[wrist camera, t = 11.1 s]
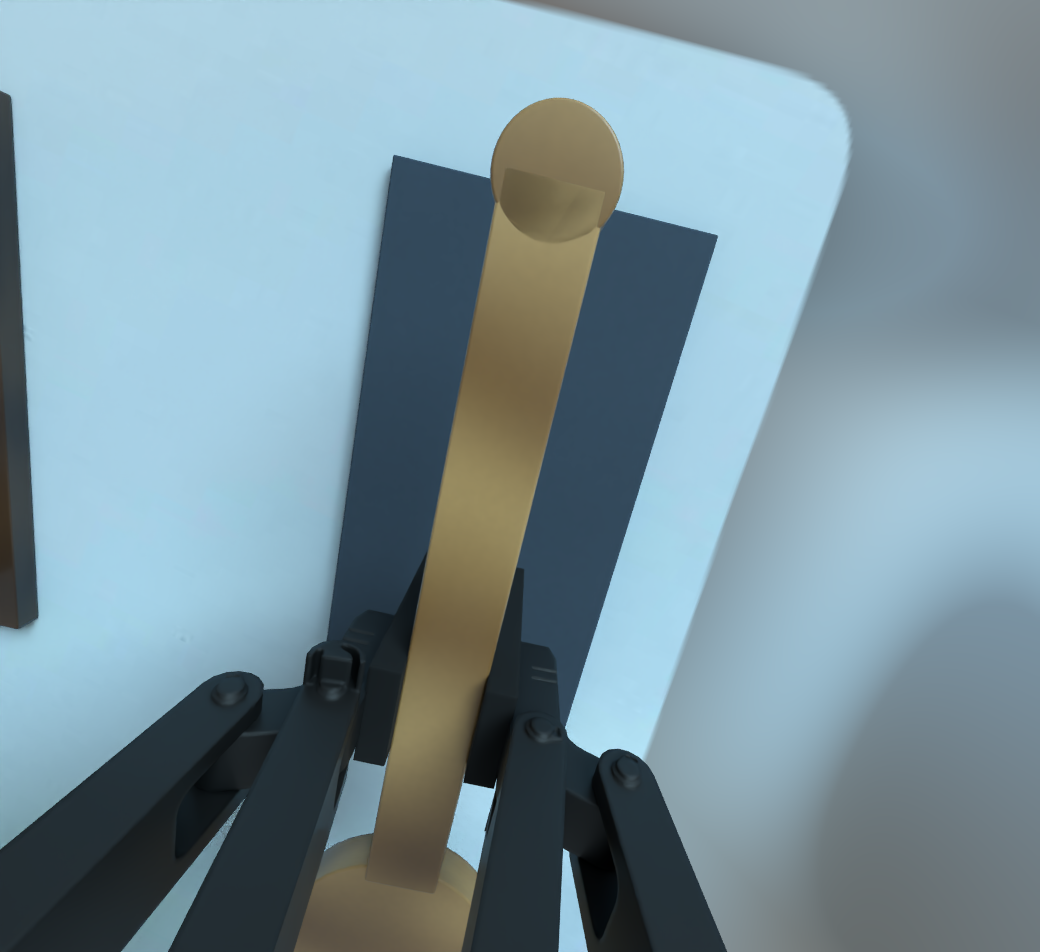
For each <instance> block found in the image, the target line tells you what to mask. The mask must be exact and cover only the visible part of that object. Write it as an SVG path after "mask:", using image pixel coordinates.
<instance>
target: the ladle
mask: <svg viewBox="0 0 1040 952" xmlns="http://www.w3.org/2000/svg"><path fill="white" fill-rule="evenodd" d="M623 178H624V162H623V156H622V151H621V148H620V144H619V142H618V139H617V137H616V135H615V133H614V131H613V129H612V128H611V126H610V125H609V123H608V122H607V121H606V120H605V118H604V117H603V116H601V115H600V114H599V113H598V112H597V111H596V110H594V109H593V108H592V107H590V106H588V105H586V104H584V103H582V102H580V101H577V100H574V99H568V98H550V99H545V100H541V101H538V102H536V103H533V104H531V105H529V106H528V107H526V108H524V109H523V110H521V111H520V112H519V113H518V114H517V115H515V116H514V117H513V118H512V120H511V121H510V122H509V123H508V124H507V126H506V127H505V128H504V130H503V131H502V133H501V135H500V137H499V139H498V141H497V143H496V146H495V149H494V152H493V156H492V161H491V169H490V181H491V189H492V194H493V198H494V202H495V205H494V210H493V215H492V220H491V225H490V231H489V236H488V241H487V246H486V251H485V257H484V262H483V267H482V272H481V277H480V283H479V288H478V293H477V298H476V303H475V309H474V314H473V319H472V324H471V329H470V335H469V340H468V345H467V350H466V355H465V360H464V366H463V371H462V376H461V381H460V386H459V392H458V397H457V402H456V407H455V412H454V418H453V423H452V428H451V433H450V438H449V444H448V449H447V454H446V459H445V464H444V470H443V475H442V480H441V485H440V490H439V495H438V501H437V506H436V511H435V516H434V521H433V527H432V532H431V537H430V542H429V547H428V553H427V558H426V563H425V568H424V573H423V579H422V584H421V589H420V594H419V599H418V605H417V610H416V615H415V620H414V625H413V630H412V636H411V641H410V646H409V651H408V656H407V657H408V660H407V665H406V670H405V675H404V680H403V686H402V691H401V696H400V701H399V706H398V711H397V717H396V722H395V727H394V732H393V737H392V743H391V748H390V751H389V755H388V760H387V765H386V771H385V776H384V781H383V786H382V791H381V797H380V802H379V807H378V812H377V817H376V823H375V828H374V833H372V834H365V835H360V836H356V837H353V838H349V839H347V840H344V841H342V842H339V843H337V844H336V845H334V846H332V847H330V848H329V849H327V850H326V851H325V852H324V853H323V856H322V860H321V863H320V866H319V870H318V873H317V876H316V879H315V883H314V886H313V889H312V893H311V896H310V899H309V902H308V906H307V909H306V912H305V916H304V919H303V922H302V926H301V929H300V932H299V935H298V939H297V942H296V945H295V949H294V952H461V950H462V946H463V941H464V936H465V931H466V926H467V921H468V916H469V912H470V907H471V902H472V897H473V892H474V887H475V882H476V878H477V872H476V870H475V869H474V868H473V867H472V866H471V865H470V864H469V863H468V862H467V861H466V860H464V859H463V858H462V857H461V856H459V855H458V854H457V853H455V852H453V851H452V850H450V849H449V848H447V843H448V839H449V835H450V831H451V827H452V823H453V819H454V815H455V811H456V807H457V803H458V799H459V795H460V791H461V787H462V783H463V779H464V775H465V770H466V764H467V760H468V756H469V752H470V748H471V744H472V740H473V736H474V732H475V728H476V724H477V720H478V716H479V712H480V708H481V704H482V699H483V695H484V691H485V687H486V683H487V679H488V675H489V674H490V670H491V666H492V662H493V658H494V654H495V650H496V646H497V642H498V638H499V634H500V630H501V626H502V622H503V618H504V614H505V610H506V606H507V602H508V598H509V594H510V590H511V586H512V582H513V578H514V574H515V570H516V566H517V562H518V558H519V554H520V550H521V546H522V542H523V538H524V534H525V530H526V526H527V522H528V518H529V514H530V510H531V506H532V502H533V498H534V494H535V490H536V486H537V482H538V478H539V474H540V470H541V466H542V462H543V458H544V454H545V450H546V446H547V442H548V438H549V434H550V430H551V426H552V422H553V418H554V414H555V410H556V406H557V402H558V398H559V394H560V390H561V386H562V382H563V378H564V374H565V370H566V366H567V362H568V358H569V354H570V350H571V346H572V342H573V338H574V334H575V330H576V326H577V322H578V318H579V314H580V310H581V306H582V302H583V298H584V294H585V290H586V285H587V281H588V277H589V273H590V269H591V265H592V261H593V257H594V253H595V249H596V245H597V241H598V237H599V233H600V232H601V231H602V229H603V227H604V226H605V224H606V223H607V221H608V220H609V218H610V216H611V215H612V213H613V211H614V210H615V207H616V205H617V203H618V201H619V198H620V194H621V191H622V186H623Z"/></svg>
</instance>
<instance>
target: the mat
mask: <svg viewBox="0 0 1040 952" xmlns="http://www.w3.org/2000/svg"><path fill="white" fill-rule="evenodd" d="M494 205H495V202H494V198H493V194H492V189H491V181H490V179H489V178H485V177H481V176H477V175H473V174H469V173H465V172H461V171H457V170H453V169H449V168H445V167H441V166H437V165H433V164H429V163H425V162H421V161H417V160H413V159H409V158H405V157H401V156H397V155H394V156H393V162H392V169H391V177H390V184H389V191H388V199H387V206H386V213H385V220H384V228H383V235H382V242H381V250H380V257H379V264H378V271H377V279H376V286H375V293H374V301H373V308H372V315H371V323H370V330H369V337H368V344H367V352H366V359H365V366H364V374H363V381H362V388H361V395H360V403H359V410H358V417H357V425H356V432H355V439H354V447H353V454H352V461H351V468H350V476H349V483H348V490H347V498H346V505H345V512H344V519H343V527H342V534H341V541H340V549H339V556H338V563H337V571H336V578H335V585H334V592H333V600H332V607H331V614H330V622H329V629H328V636H327V641H331V640H341V639H342V638H343V636H344V634H345V633H346V631H347V630H348V628H349V626H350V625H351V623H352V622H353V620H354V619H355V617H357V616H358V615H360V614H362V613H363V612H365V611H366V610H368V609H369V610H373V611H378V612H382V613H387V614H392V615H395V614H396V612H397V610H398V608H399V606H400V604H401V602H402V600H403V598H404V596H405V594H406V592H407V590H408V588H409V586H410V584H411V582H412V580H413V578H414V576H415V574H416V572H417V570H418V568H419V566H420V564H421V562H422V560H423V558H424V556H425V554H426V552H427V550H428V547H429V542H430V537H431V532H432V527H433V521H434V516H435V511H436V506H437V501H438V495H439V490H440V485H441V480H442V475H443V470H444V464H445V459H446V454H447V449H448V444H449V438H450V433H451V428H452V423H453V418H454V412H455V407H456V402H457V397H458V392H459V386H460V381H461V376H462V371H463V366H464V360H465V355H466V350H467V345H468V340H469V335H470V329H471V324H472V319H473V314H474V309H475V303H476V298H477V293H478V288H479V283H480V277H481V272H482V267H483V262H484V257H485V251H486V246H487V241H488V236H489V231H490V225H491V220H492V215H493V210H494ZM717 238H718V236H717V235H714V234H710V233H706V232H702V231H698V230H694V229H690V228H686V227H682V226H678V225H674V224H670V223H666V222H662V221H658V220H654V219H650V218H646V217H642V216H638V215H634V214H630V213H626V212H622V211H618V210H614V211H613V213H612V215H611V216H610V218H609V220H608V221H607V223H606V224H605V226H604V227H603V229H602V231H601V232H600V233H599V237H598V241H597V245H596V249H595V253H594V257H593V261H592V265H591V269H590V273H589V277H588V281H587V285H586V290H585V294H584V298H583V302H582V306H581V310H580V314H579V318H578V322H577V326H576V330H575V334H574V338H573V342H572V346H571V350H570V354H569V358H568V362H567V366H566V370H565V374H564V378H563V382H562V386H561V390H560V394H559V398H558V402H557V406H556V410H555V414H554V418H553V422H552V426H551V430H550V434H549V438H548V442H547V446H546V450H545V454H544V458H543V462H542V466H541V470H540V474H539V478H538V482H537V486H536V490H535V494H534V498H533V502H532V506H531V510H530V514H529V518H528V522H527V526H526V530H525V534H524V538H523V542H522V546H521V550H520V554H519V558H518V562H517V566H516V567H517V568H522V569H524V588H523V610H522V631H521V641H522V642H527V643H531V644H536V645H540V646H545V647H549V648H550V650H551V652H552V653H553V655H554V657H555V658H556V663H557V678H558V683H557V684H558V693H559V709H560V722H561V723H562V725H563V726H564V728H565V726H566V723H567V719H568V716H569V713H570V710H571V707H572V703H573V700H574V697H575V694H576V690H577V687H578V684H579V681H580V678H581V674H582V671H583V668H584V665H585V662H586V658H587V655H588V652H589V649H590V646H591V642H592V639H593V636H594V633H595V629H596V626H597V623H598V620H599V617H600V613H601V610H602V607H603V604H604V601H605V597H606V594H607V591H608V588H609V585H610V581H611V578H612V575H613V572H614V569H615V565H616V562H617V559H618V556H619V552H620V549H621V546H622V543H623V540H624V536H625V533H626V530H627V527H628V524H629V520H630V517H631V514H632V511H633V508H634V504H635V501H636V498H637V495H638V491H639V488H640V485H641V482H642V479H643V475H644V472H645V469H646V466H647V463H648V459H649V456H650V453H651V450H652V447H653V443H654V440H655V437H656V434H657V430H658V427H659V424H660V421H661V418H662V414H663V411H664V408H665V405H666V402H667V398H668V395H669V392H670V389H671V386H672V382H673V379H674V376H675V373H676V370H677V366H678V363H679V360H680V357H681V353H682V350H683V347H684V344H685V341H686V337H687V334H688V331H689V328H690V325H691V321H692V318H693V315H694V312H695V309H696V305H697V302H698V299H699V296H700V292H701V289H702V286H703V283H704V280H705V276H706V273H707V270H708V267H709V264H710V260H711V257H712V254H713V251H714V248H715V244H716V241H717Z"/></svg>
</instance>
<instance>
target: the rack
mask: <svg viewBox="0 0 1040 952" xmlns="http://www.w3.org/2000/svg"><path fill="white" fill-rule="evenodd" d="M37 618H38V610H37V591H36V572H35V553H34V534H33V514H32V495H31V476H30V457H29V438H28V419H27V399H26V380H25V361H24V342H23V323H22V304H21V285H20V265H19V246H18V227H17V208H16V189H15V170H14V151H13V131H12V112H11V97H10V96H9V95H8V94H6V93H4V92H2V91H0V626H5V627H10V628H14V629H19V628H21V627H23V626H24V625H26V624H28V623H30V622H31V621H33V620H35V619H37Z"/></svg>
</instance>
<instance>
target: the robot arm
mask: <svg viewBox="0 0 1040 952" xmlns="http://www.w3.org/2000/svg"><path fill="white" fill-rule="evenodd" d="M427 553H428V550H427V552H426V554H425V556H424V558H423V560H422V562H421V564H420V566H419V568H418V570H417V572H416V574H415V576H414V578H413V580H412V582H411V584H410V586H409V588H408V590H407V592H406V594H405V596H404V598H403V600H402V602H401V604H400V606H399V608H398V610H397V612H396V614H395V615H392V614H387V613H382V612H378V611H373V610H369V609H368V610H366V611H365V612H363V613H362V614H360V615H358V616H357V617H355V619H354V620H353V622H352V623H351V625H350V626H349V628H348V630H347V631H346V633H345V634H344V636H343V638H342V639H341V640H331V641H327V642H322V643H320V644H318V645H316V646H314V647H312V649H311V650H310V651H309V652H308V653H307V656H306V664H305V672H304V680H303V685H301V686H297V687H294V688H287V689H268V690H263V687H264V684H263V683H262V681H261V680H260V678H259V677H257V676H255V675H253V674H252V673H247V672H241V671H236V672H226V673H223V674H220V675H216V676H214V677H212V678H210V679H209V680H207V681H205V682H204V683H202V684H201V685H200V686H199V687H197V688H196V689H195V690H194V691H193V692H191V693H190V694H189V695H188V696H187V697H185V698H184V699H183V700H182V701H180V702H179V703H178V704H177V705H176V706H174V707H173V708H172V709H171V710H170V711H168V712H167V713H166V714H165V715H163V716H162V717H161V718H160V719H159V720H157V721H156V722H155V723H154V724H152V725H151V726H150V727H149V728H148V729H146V730H145V731H144V732H143V733H142V734H140V735H139V736H138V737H137V738H135V739H134V740H133V741H132V742H131V743H129V744H128V745H127V746H126V747H125V748H123V749H122V750H121V751H120V752H118V753H117V754H116V755H115V756H114V757H112V758H111V759H110V760H109V761H108V762H106V763H105V764H104V765H103V766H101V767H100V768H99V769H98V770H97V771H95V772H94V773H93V774H92V775H90V776H89V777H88V778H87V779H86V780H84V781H83V782H82V783H81V784H80V785H78V786H77V787H76V788H75V789H73V790H72V791H71V792H70V793H69V794H67V795H66V796H65V797H64V798H63V799H61V800H60V801H59V802H58V803H56V804H55V805H54V806H53V807H52V808H50V809H49V810H48V811H47V812H46V813H44V814H43V815H42V816H41V817H39V818H38V819H37V820H36V821H35V822H33V823H32V824H31V825H30V826H28V827H27V828H26V829H25V830H24V831H22V832H21V833H20V834H19V835H18V836H16V837H15V838H14V839H13V840H11V841H10V842H9V843H8V844H7V845H5V846H4V847H3V848H2V849H1V850H0V952H121V951H122V950H123V948H124V947H125V946H126V945H127V944H128V942H129V941H130V940H131V939H132V937H133V936H134V935H135V934H136V932H137V931H138V930H139V929H140V927H141V926H142V925H143V924H144V922H145V921H146V920H147V919H148V917H149V916H150V915H151V914H152V913H153V911H154V910H155V909H156V908H157V906H158V905H159V904H160V903H161V901H162V900H163V899H164V898H165V896H166V895H167V894H168V893H169V891H170V890H171V889H172V888H173V887H174V885H175V884H176V883H177V882H178V880H179V879H180V878H181V877H182V875H183V874H184V873H185V872H186V870H187V869H188V868H189V867H190V865H191V864H192V863H193V862H194V860H195V859H196V858H197V857H198V856H199V854H200V853H201V852H202V851H203V849H204V848H205V847H206V846H207V844H208V843H209V842H210V841H211V839H212V838H213V837H214V836H215V834H216V833H217V832H218V831H219V830H220V828H221V827H222V826H223V825H224V823H225V822H226V821H227V820H228V818H229V817H230V816H231V815H232V813H233V812H234V811H235V810H236V808H237V807H238V806H239V805H240V803H241V802H242V801H243V800H244V799H245V800H244V802H243V804H242V806H241V808H240V810H239V812H238V814H237V816H236V818H235V820H234V822H233V824H232V826H231V828H230V830H229V832H228V834H227V836H226V838H225V840H224V842H223V844H222V846H221V848H220V850H219V852H218V854H217V856H216V858H215V860H214V861H213V863H212V865H211V867H210V869H209V871H208V873H207V875H206V877H205V879H204V881H203V883H202V885H201V887H200V889H199V891H198V893H197V895H196V897H195V899H194V901H193V903H192V905H191V907H190V909H189V911H188V913H187V915H186V917H185V919H184V921H183V923H182V925H181V927H180V929H179V931H178V933H177V935H176V937H175V939H174V941H173V943H172V945H171V947H170V949H169V951H168V952H294V949H295V945H296V942H297V939H298V935H299V932H300V929H301V926H302V922H303V919H304V916H305V912H306V909H307V906H308V902H309V899H310V896H311V893H312V889H313V886H314V883H315V879H316V876H317V873H318V870H319V866H320V863H321V860H322V856H323V853H324V850H325V846H326V843H327V840H328V837H329V833H330V830H331V827H332V823H333V820H334V817H335V813H336V810H337V807H338V804H339V800H340V797H341V794H342V790H343V787H344V784H345V780H346V777H347V771H348V765H349V760H350V758H351V756H352V754H353V751H354V749H355V753H354V759H353V760H356V761H361V762H366V763H371V764H375V765H380V766H384V765H385V762H386V759H387V756H388V753H389V751H390V748H391V743H392V737H393V732H394V727H395V722H396V717H397V711H398V706H399V701H400V696H401V691H402V686H403V680H404V675H405V670H406V665H407V660H408V657H407V656H408V651H409V646H410V641H411V636H412V630H413V625H414V620H415V615H416V610H417V605H418V599H419V594H420V589H421V584H422V579H423V573H424V568H425V563H426V558H427ZM523 588H524V569H522V568H517V567H516V570H515V574H514V578H513V582H512V586H511V590H510V594H509V598H508V602H507V606H506V610H505V614H504V618H503V622H502V626H501V630H500V634H499V638H498V642H497V646H496V650H495V654H494V658H493V662H492V666H491V670H490V674H489V675H488V679H487V683H486V687H485V691H484V695H483V699H482V704H481V708H480V712H479V716H478V720H477V724H476V728H475V732H474V736H473V740H472V744H471V748H470V752H469V756H468V760H467V764H466V770H465V776H464V783H468V784H473V785H478V786H482V787H487V788H492V789H494V786H495V782H496V779H497V782H496V791H495V794H494V798H493V802H492V805H491V809H490V812H489V816H488V820H487V823H486V827H485V831H486V834H485V839H484V844H483V848H482V853H481V858H480V863H479V868H478V873H477V878H476V882H475V887H474V892H473V897H472V902H471V907H470V912H469V916H468V921H467V926H466V931H465V936H464V941H463V946H462V950H461V952H558V948H559V925H560V903H561V881H562V858H563V848H564V849H565V850H567V851H569V857H570V862H571V867H572V872H573V877H574V883H575V888H576V893H577V898H578V903H579V908H580V913H581V919H582V924H583V929H584V934H585V939H586V944H587V949H588V952H727V951H726V948H725V945H724V943H723V941H722V938H721V936H720V933H719V931H718V929H717V926H716V924H715V921H714V919H713V917H712V914H711V912H710V909H709V908H708V905H707V902H706V900H705V897H704V895H703V892H702V890H701V888H700V885H699V883H698V880H697V878H696V876H695V873H694V871H693V869H692V866H691V864H690V861H689V859H688V856H687V854H686V852H685V849H684V847H683V844H682V842H681V839H680V837H679V835H678V832H677V830H676V827H675V825H674V823H673V820H672V818H671V815H670V813H669V810H668V808H667V806H666V804H665V801H664V799H663V796H662V794H661V791H660V789H659V786H658V784H657V782H656V779H655V777H654V775H653V773H652V772H651V770H650V768H649V767H648V765H647V764H646V763H645V762H644V761H642V760H641V759H640V758H639V757H638V756H636V755H634V754H632V753H630V752H629V751H625V750H621V749H610V750H607V751H606V752H604V753H602V755H601V757H600V758H598V757H596V756H594V755H592V754H590V753H588V752H586V751H584V750H583V749H581V748H579V747H578V746H576V745H575V744H574V743H573V742H572V741H570V739H569V738H568V737H567V732H566V729H565V728H564V726H563V725H562V723H561V722H560V709H559V693H558V684H557V683H558V678H557V663H556V658H555V657H554V655H553V653H552V652H551V650H550V648H549V647H545V646H540V645H536V644H531V643H527V642H522V641H521V631H522V610H523ZM245 797H246V798H245Z"/></svg>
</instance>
